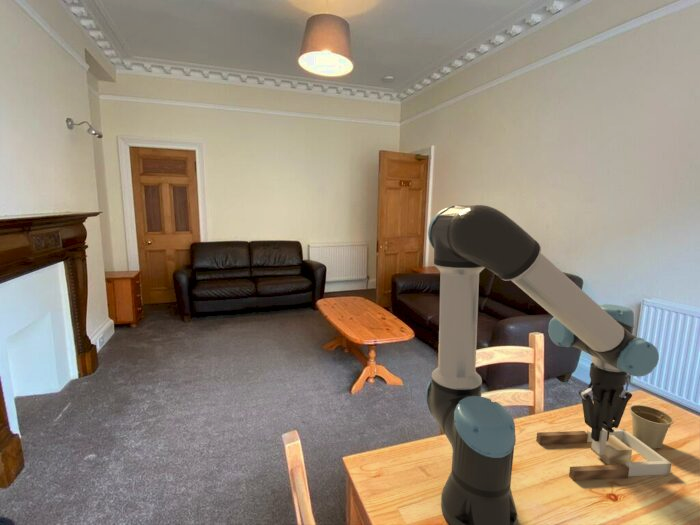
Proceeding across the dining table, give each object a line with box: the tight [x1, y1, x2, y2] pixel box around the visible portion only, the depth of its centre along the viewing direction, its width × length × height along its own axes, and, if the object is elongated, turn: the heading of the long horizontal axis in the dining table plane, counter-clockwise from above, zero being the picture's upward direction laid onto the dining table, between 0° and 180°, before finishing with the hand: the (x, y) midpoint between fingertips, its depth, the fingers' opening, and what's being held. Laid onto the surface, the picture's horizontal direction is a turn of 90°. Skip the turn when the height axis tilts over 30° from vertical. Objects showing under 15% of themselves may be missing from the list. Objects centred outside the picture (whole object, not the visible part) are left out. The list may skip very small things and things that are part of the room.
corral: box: [586, 428, 672, 477], centre depth 95 cm, size 11×14×3 cm
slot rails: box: [535, 430, 629, 482], centre depth 94 cm, size 14×15×2 cm
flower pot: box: [629, 404, 675, 450], centre depth 100 cm, size 9×9×9 cm
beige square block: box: [590, 435, 633, 465], centre depth 94 cm, size 6×6×4 cm
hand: (598, 451), depth 94 cm, fingers closed
